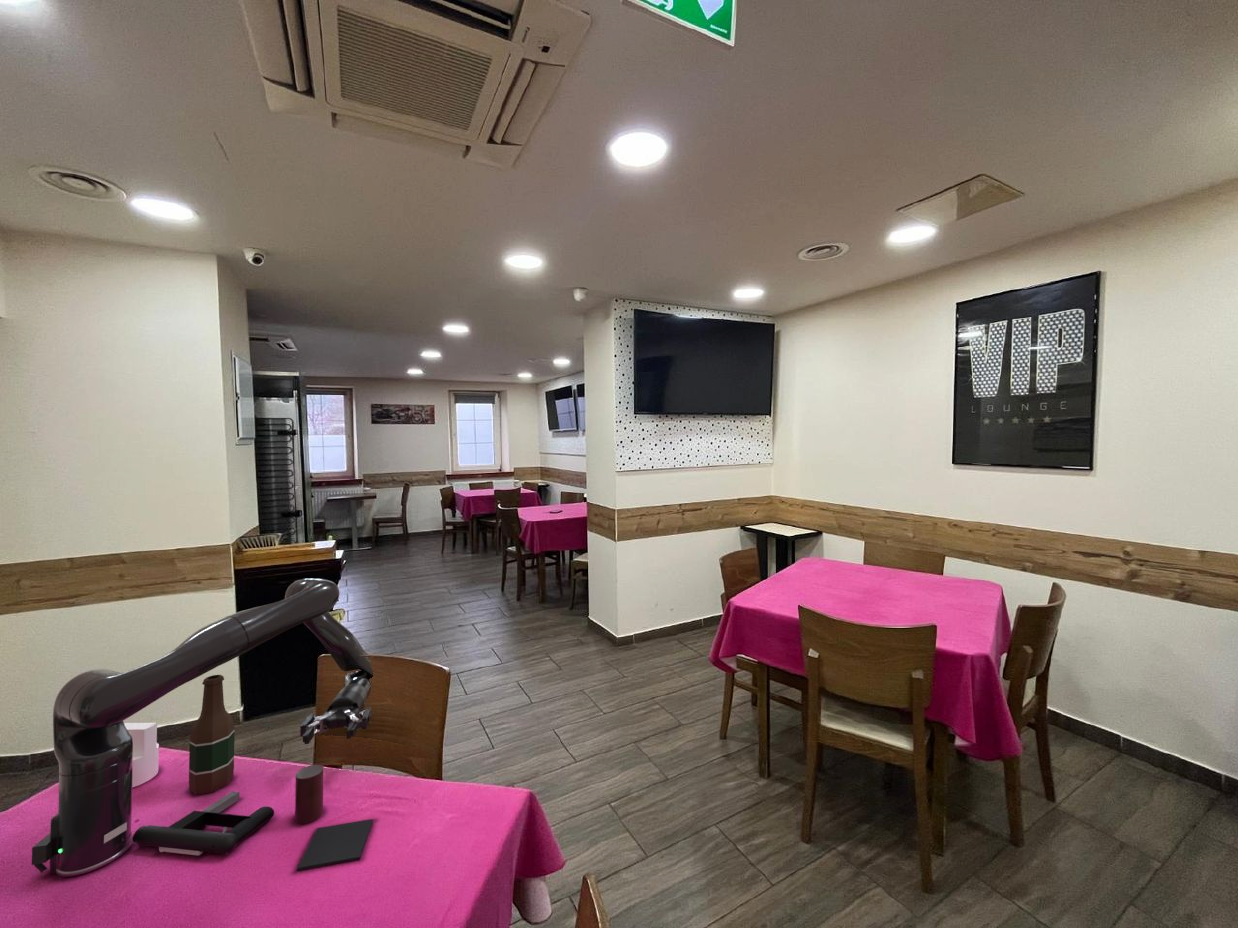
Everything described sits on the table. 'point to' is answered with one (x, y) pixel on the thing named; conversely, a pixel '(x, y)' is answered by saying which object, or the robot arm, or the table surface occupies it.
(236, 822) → the door handle
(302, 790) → the dark brown cylinder
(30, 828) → the table surface
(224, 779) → the beer bottle
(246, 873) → the table surface
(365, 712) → the robot arm
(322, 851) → the black mat
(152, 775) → the base with upright slab
